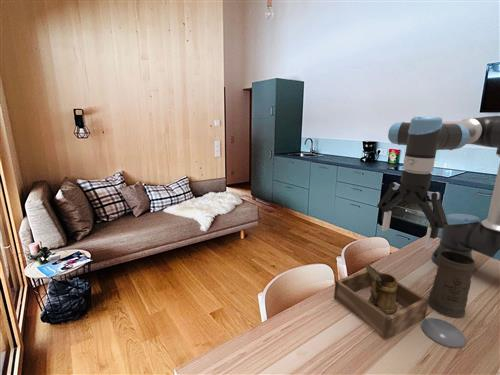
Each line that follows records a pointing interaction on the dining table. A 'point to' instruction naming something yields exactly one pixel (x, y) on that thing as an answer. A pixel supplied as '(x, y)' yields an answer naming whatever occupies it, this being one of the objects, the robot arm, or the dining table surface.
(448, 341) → the coaster
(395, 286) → the wooden mug
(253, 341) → the dining table surface
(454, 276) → the beer stein
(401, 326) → the wooden frame
